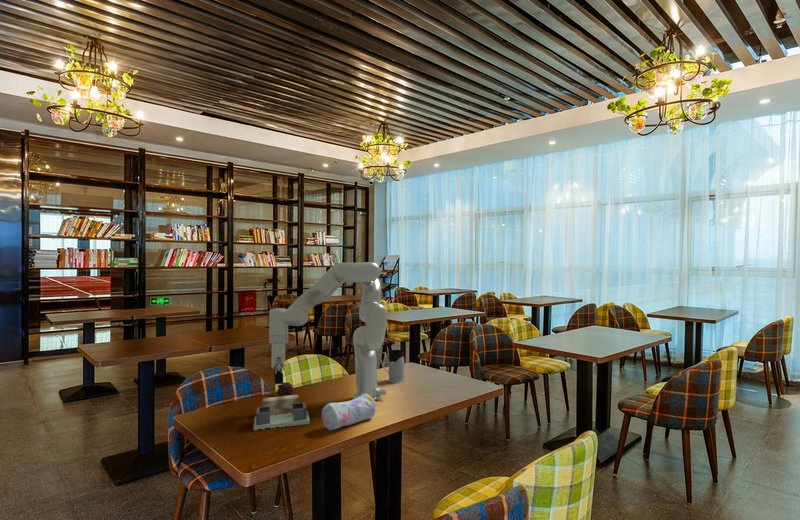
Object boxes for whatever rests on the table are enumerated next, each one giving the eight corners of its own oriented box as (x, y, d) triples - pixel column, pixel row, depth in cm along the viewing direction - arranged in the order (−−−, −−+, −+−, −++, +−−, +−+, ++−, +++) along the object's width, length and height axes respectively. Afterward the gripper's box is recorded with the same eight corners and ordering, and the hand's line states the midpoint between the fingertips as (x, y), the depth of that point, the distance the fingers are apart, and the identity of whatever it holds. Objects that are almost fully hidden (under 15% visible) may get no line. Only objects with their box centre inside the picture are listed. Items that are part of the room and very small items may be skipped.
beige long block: (298, 408, 192) (297, 394, 192) (299, 412, 187) (298, 397, 187) (263, 413, 188) (262, 398, 188) (263, 416, 183) (262, 401, 183)
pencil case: (363, 414, 182) (362, 390, 182) (378, 419, 176) (377, 394, 176) (319, 429, 167) (319, 402, 167) (334, 434, 161) (334, 407, 161)
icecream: (269, 382, 213) (284, 391, 201) (283, 375, 217) (298, 383, 206) (272, 395, 214) (287, 405, 203) (286, 388, 219) (302, 397, 207)
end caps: (305, 412, 182) (304, 401, 182) (306, 419, 173) (306, 408, 173) (257, 417, 177) (256, 407, 177) (256, 425, 168) (256, 414, 168)
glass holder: (399, 383, 227) (398, 353, 227) (376, 380, 235) (375, 351, 235) (408, 379, 235) (407, 350, 235) (385, 376, 242) (385, 348, 242)
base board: (307, 414, 183) (307, 411, 183) (309, 423, 172) (309, 419, 172) (254, 420, 178) (254, 417, 178) (253, 430, 167) (253, 426, 167)
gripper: (269, 336, 195) (269, 377, 195) (269, 342, 179) (269, 386, 178) (287, 335, 197) (287, 375, 197) (289, 341, 181) (289, 385, 180)
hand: (278, 381), depth 187 cm, fingers open, 9 cm apart
